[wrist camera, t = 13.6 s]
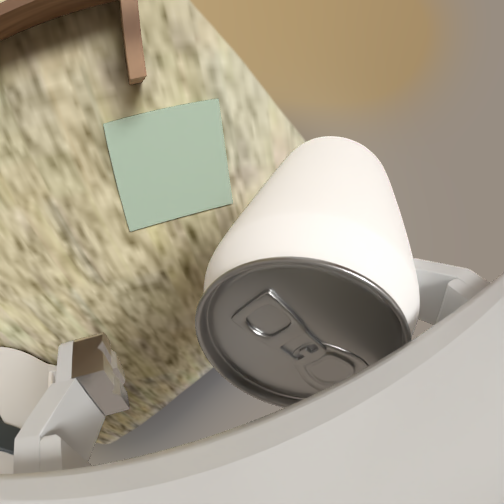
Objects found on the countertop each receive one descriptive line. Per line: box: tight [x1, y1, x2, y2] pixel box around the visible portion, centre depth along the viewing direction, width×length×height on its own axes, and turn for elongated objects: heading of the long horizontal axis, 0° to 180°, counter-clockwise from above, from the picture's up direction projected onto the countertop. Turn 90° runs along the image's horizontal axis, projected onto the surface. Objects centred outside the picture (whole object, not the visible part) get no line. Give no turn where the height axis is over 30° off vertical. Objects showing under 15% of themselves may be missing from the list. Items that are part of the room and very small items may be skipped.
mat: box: [103, 99, 233, 231], centre depth 29 cm, size 11×11×1 cm
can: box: [195, 136, 420, 408], centre depth 12 cm, size 6×6×12 cm
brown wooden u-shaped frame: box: [0, 0, 147, 85], centre depth 17 cm, size 10×17×6 cm, turn 97°
